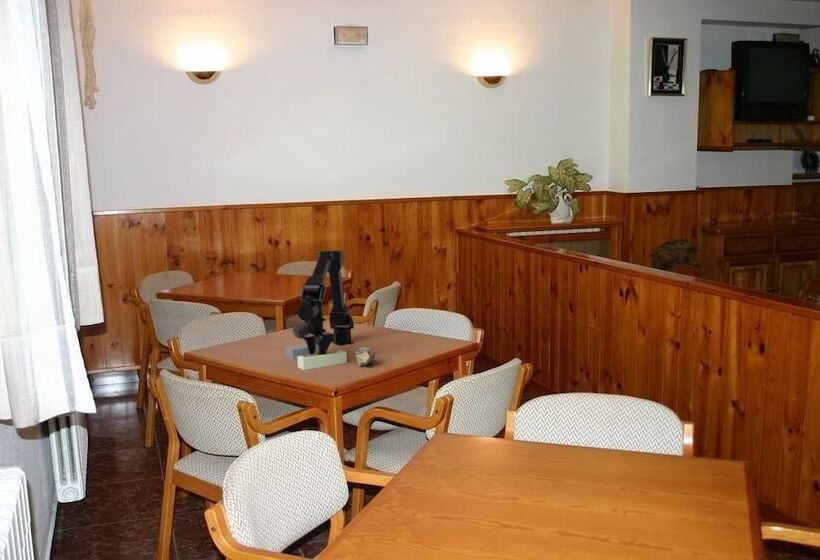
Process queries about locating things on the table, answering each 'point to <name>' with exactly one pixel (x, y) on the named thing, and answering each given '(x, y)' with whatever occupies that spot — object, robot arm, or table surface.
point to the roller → (312, 355)
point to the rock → (364, 356)
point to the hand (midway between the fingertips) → (316, 357)
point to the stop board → (322, 360)
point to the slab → (298, 351)
